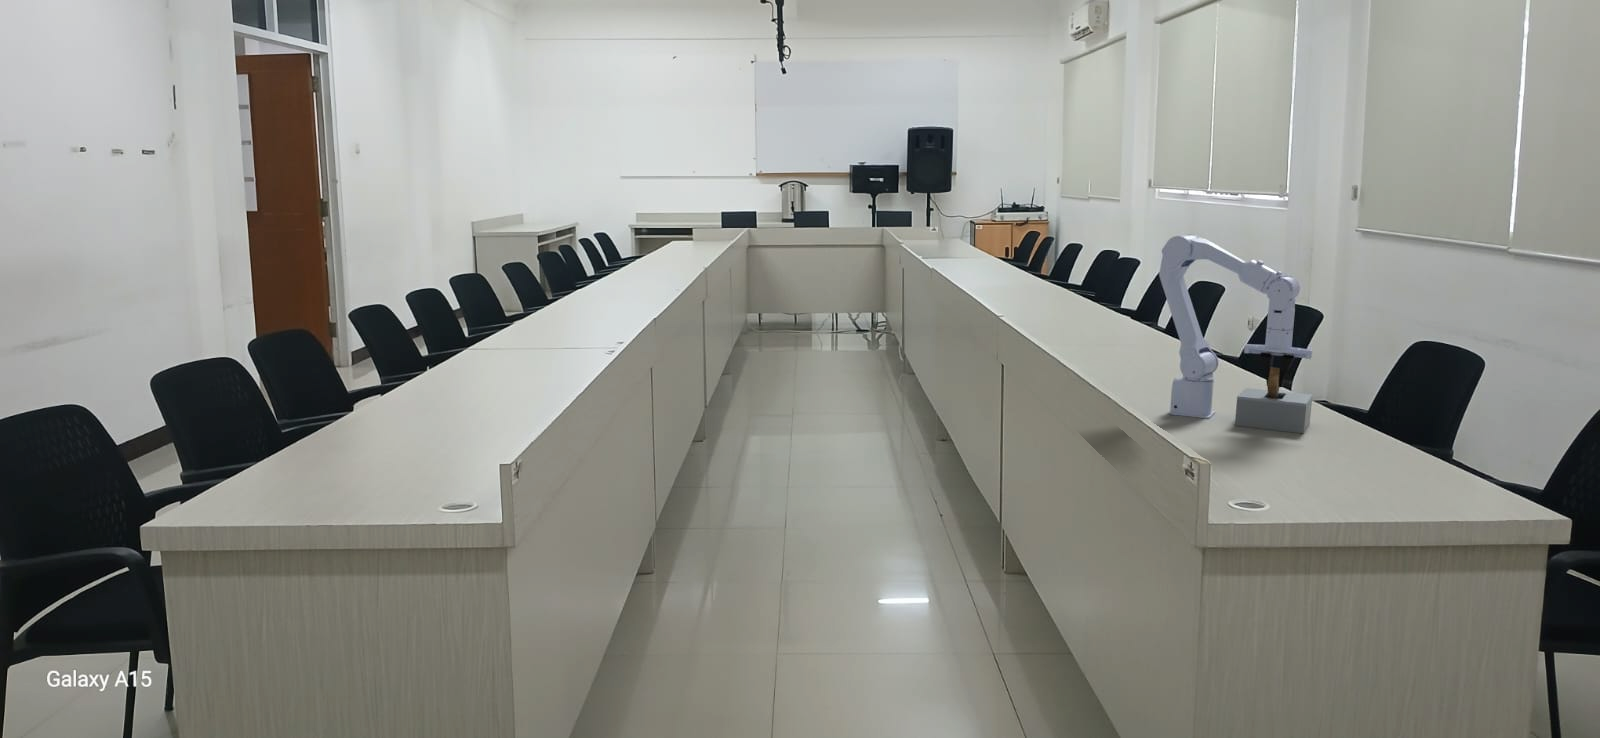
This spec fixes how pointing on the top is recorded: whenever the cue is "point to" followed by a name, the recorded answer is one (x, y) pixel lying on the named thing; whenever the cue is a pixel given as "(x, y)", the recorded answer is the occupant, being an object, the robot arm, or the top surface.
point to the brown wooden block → (1273, 382)
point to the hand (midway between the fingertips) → (1274, 386)
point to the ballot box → (1273, 410)
